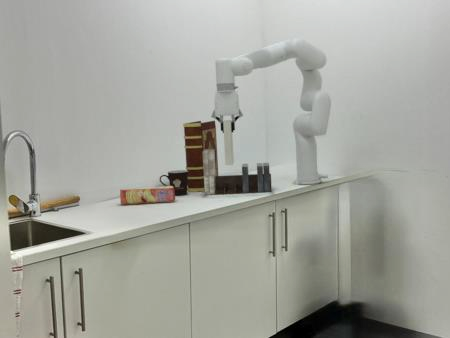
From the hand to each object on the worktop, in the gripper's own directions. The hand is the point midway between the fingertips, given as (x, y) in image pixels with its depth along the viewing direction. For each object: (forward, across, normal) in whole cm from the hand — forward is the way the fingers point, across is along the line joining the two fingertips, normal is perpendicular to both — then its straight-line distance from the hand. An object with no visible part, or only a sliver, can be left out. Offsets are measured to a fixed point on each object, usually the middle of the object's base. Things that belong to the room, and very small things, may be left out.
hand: (228, 132), depth 260 cm
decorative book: (+27, +14, -22) cm, 37 cm away
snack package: (+27, +33, +12) cm, 44 cm away
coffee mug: (+27, +24, -6) cm, 36 cm away
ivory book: (+13, 0, 0) cm, 13 cm away
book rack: (+26, -3, -1) cm, 27 cm away
